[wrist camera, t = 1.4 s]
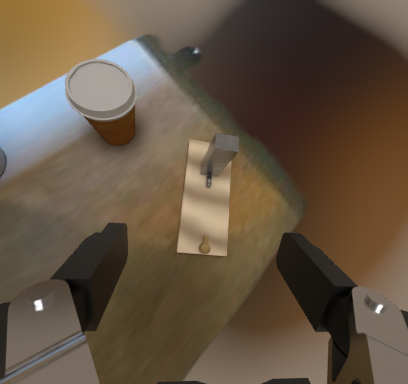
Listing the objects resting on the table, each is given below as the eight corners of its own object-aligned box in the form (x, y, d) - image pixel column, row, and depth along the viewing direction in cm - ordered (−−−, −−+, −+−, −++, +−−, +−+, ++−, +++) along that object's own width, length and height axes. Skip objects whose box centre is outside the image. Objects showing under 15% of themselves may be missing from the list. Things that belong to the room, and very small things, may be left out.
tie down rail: (188, 142, 41) (191, 132, 37) (229, 150, 42) (236, 140, 39) (176, 251, 35) (178, 253, 31) (224, 255, 37) (231, 257, 33)
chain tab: (203, 142, 40) (217, 106, 29) (219, 145, 40) (239, 111, 30) (199, 186, 37) (213, 164, 27) (216, 189, 38) (237, 168, 27)
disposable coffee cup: (124, 102, 40) (110, 47, 29) (153, 137, 40) (149, 95, 28) (81, 124, 37) (45, 72, 26) (110, 162, 37) (88, 126, 25)
